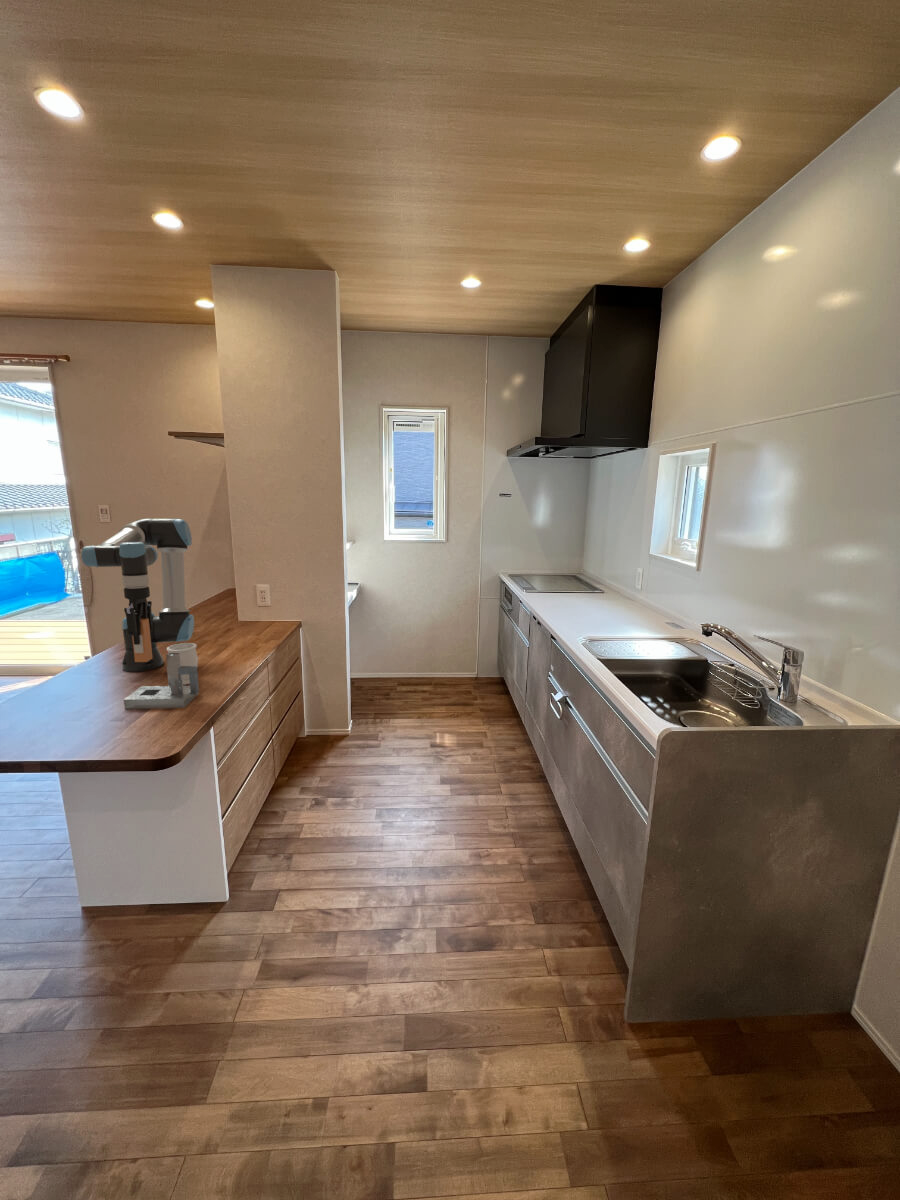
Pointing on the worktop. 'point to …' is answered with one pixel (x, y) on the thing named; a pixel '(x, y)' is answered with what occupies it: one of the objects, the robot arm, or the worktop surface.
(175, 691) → the plate with square hole
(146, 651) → the orange square bar
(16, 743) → the worktop surface
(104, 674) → the worktop surface
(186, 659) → the jar
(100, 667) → the worktop surface
